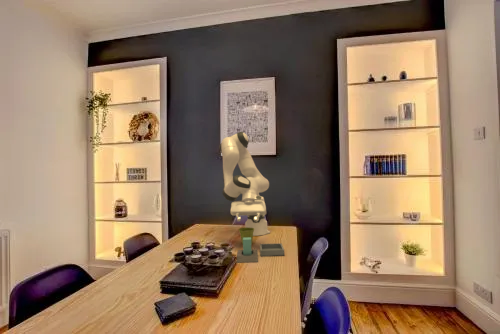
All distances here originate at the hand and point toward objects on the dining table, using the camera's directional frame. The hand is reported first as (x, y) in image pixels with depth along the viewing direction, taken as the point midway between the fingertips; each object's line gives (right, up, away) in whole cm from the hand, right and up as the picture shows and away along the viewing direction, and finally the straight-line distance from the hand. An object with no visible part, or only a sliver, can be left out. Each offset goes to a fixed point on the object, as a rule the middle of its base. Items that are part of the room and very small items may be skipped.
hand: (247, 220), depth 139 cm
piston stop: (0, -16, -13) cm, 20 cm away
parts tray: (+13, -16, -4) cm, 21 cm away
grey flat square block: (0, -16, -13) cm, 20 cm away
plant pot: (0, -17, +14) cm, 22 cm away
